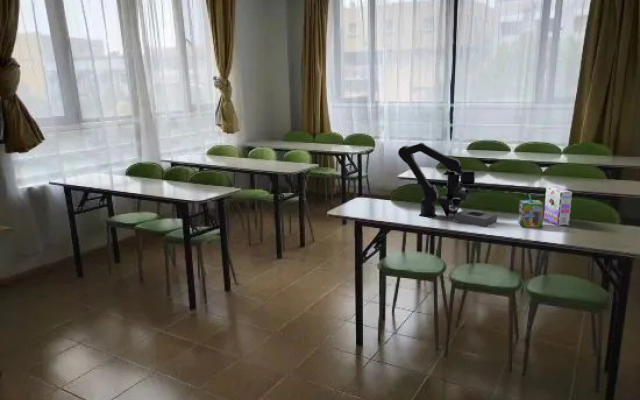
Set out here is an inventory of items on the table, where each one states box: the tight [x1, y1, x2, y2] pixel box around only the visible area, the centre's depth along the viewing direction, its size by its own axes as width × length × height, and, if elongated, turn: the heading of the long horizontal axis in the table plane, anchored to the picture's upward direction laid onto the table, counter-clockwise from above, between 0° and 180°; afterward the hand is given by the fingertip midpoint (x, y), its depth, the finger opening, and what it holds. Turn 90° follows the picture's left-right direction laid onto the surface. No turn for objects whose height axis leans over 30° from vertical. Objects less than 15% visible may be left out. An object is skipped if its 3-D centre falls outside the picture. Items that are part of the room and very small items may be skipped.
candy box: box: [543, 186, 573, 227], centre depth 236 cm, size 14×6×16 cm, turn 3°
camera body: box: [454, 208, 498, 228], centre depth 240 cm, size 16×12×4 cm
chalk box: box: [517, 193, 545, 229], centre depth 232 cm, size 9×9×15 cm
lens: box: [445, 204, 459, 220], centre depth 249 cm, size 6×6×6 cm
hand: (451, 214), depth 249 cm, fingers open, 9 cm apart
